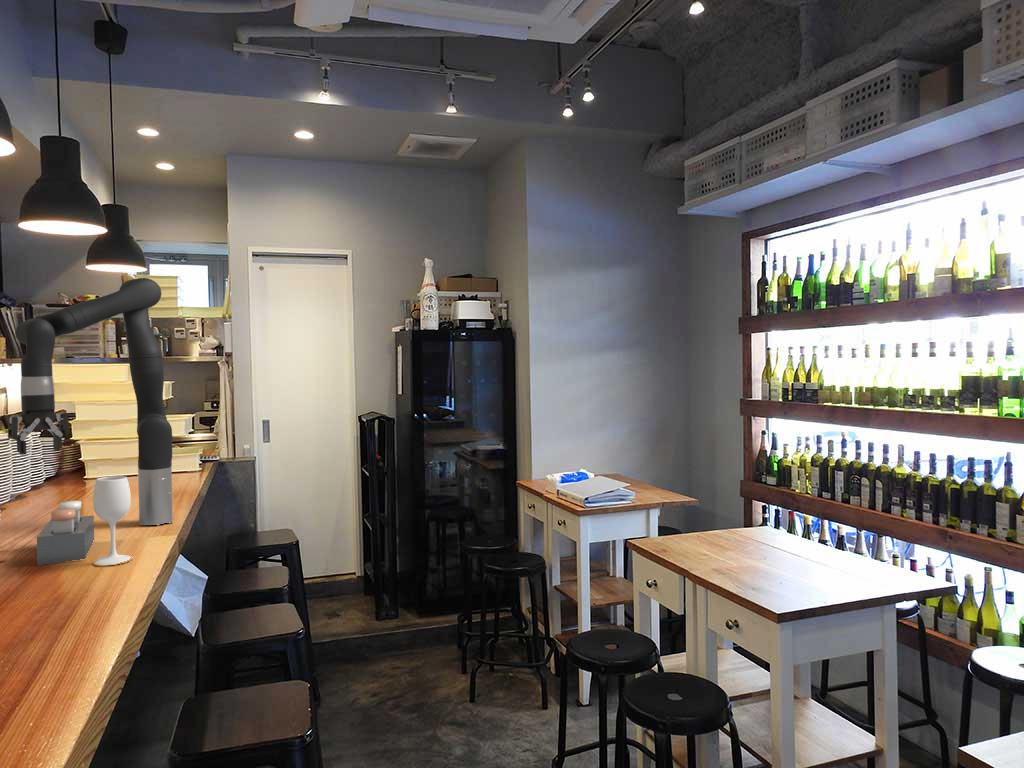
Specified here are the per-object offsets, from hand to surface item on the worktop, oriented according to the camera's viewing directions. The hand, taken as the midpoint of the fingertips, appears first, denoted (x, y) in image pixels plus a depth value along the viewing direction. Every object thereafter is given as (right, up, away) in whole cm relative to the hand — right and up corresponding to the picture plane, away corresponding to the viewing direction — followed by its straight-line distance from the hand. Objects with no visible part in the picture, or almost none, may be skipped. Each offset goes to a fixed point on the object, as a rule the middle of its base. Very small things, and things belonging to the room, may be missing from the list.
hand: (40, 452), depth 191 cm
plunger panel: (+12, -25, -7) cm, 29 cm away
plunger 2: (+15, -21, -13) cm, 28 cm away
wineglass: (+29, -26, -16) cm, 42 cm away
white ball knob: (+9, -20, -2) cm, 22 cm away
